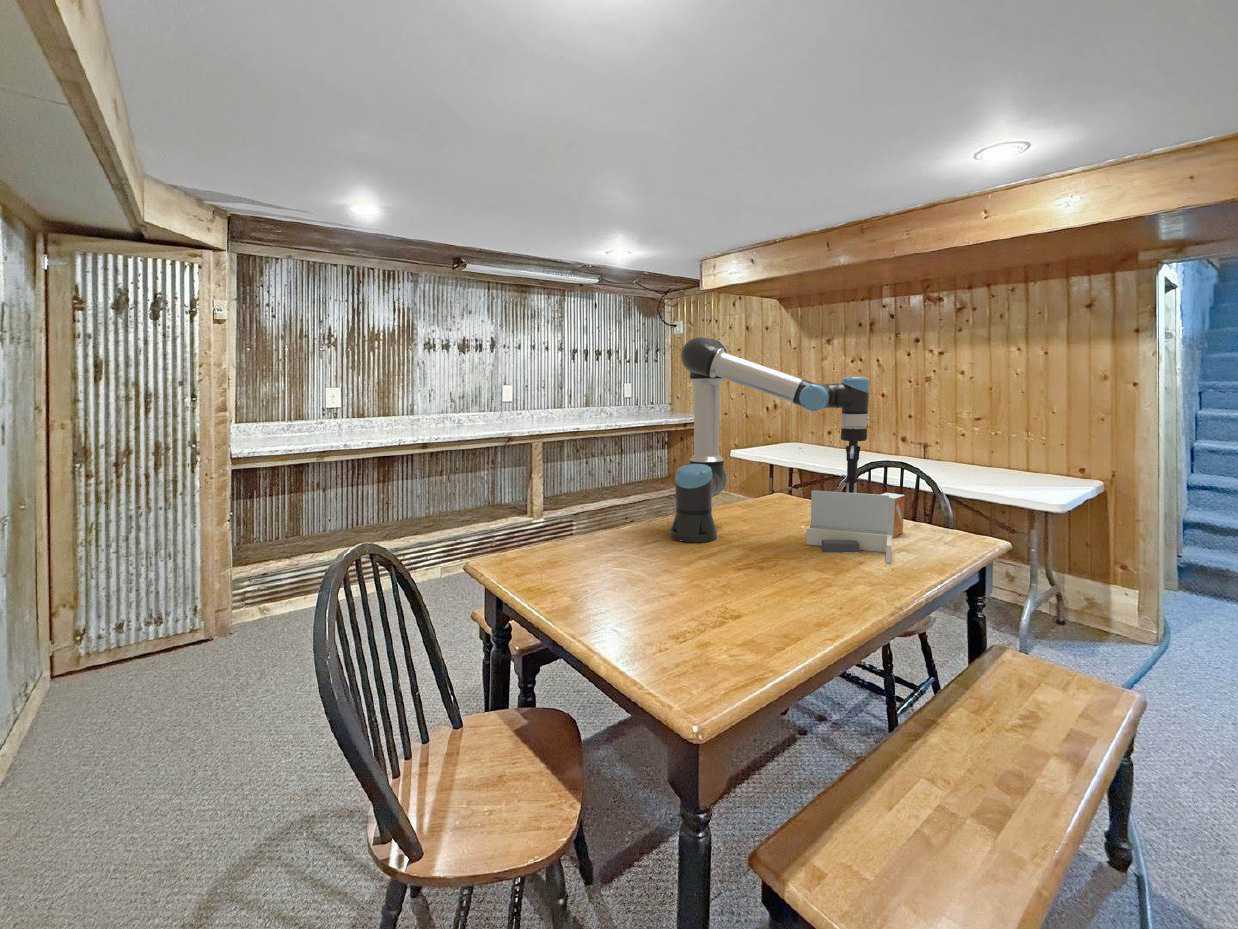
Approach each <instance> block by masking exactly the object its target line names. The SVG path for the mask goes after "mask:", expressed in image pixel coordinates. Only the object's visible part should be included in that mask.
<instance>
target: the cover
mask: <svg viewBox="0 0 1238 929" xmlns="http://www.w3.org/2000/svg"><path fill="white" fill-rule="evenodd" d="M810 493H811V494H810V495H811V496H810V498H811V499H810V501H811V502H810V524H809V528H815V529H826V530H837V531H849V532H860V533H871V534H882V535H888V513H889V495H880V494H876V493H860V492H859V493H858V492H856V493H847V491H846V492H843V491H828V490H827V491H826V490H811V492H810Z"/></svg>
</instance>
